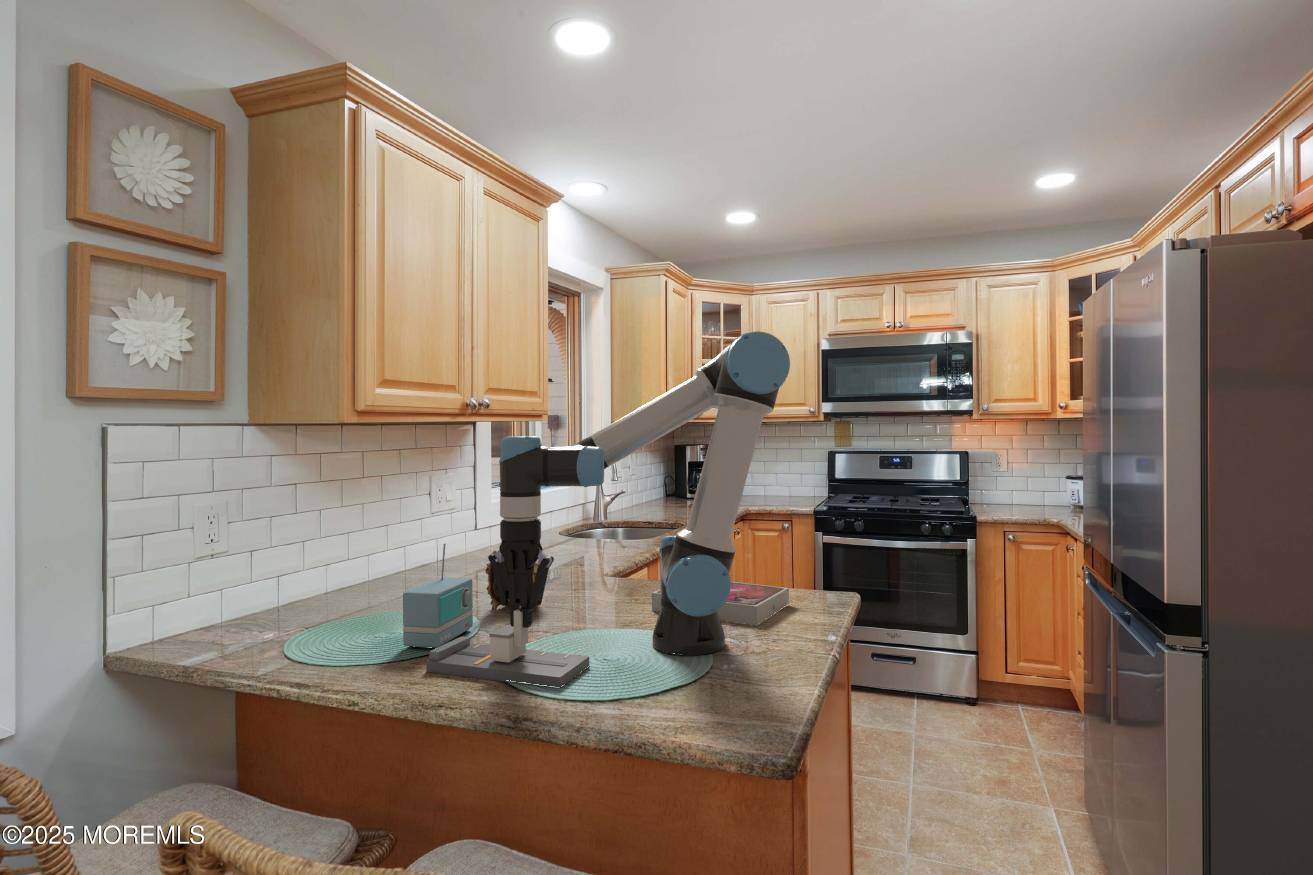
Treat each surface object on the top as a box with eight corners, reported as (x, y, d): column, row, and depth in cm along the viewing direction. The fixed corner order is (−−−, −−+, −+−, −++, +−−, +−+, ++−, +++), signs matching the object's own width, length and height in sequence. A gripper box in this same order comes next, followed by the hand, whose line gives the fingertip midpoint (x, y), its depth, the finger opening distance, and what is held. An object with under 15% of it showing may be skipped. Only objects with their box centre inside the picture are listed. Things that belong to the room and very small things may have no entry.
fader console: (589, 666, 131) (589, 648, 131) (560, 688, 120) (559, 668, 120) (464, 652, 140) (464, 635, 140) (426, 671, 129) (426, 652, 129)
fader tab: (526, 652, 132) (526, 626, 132) (509, 662, 126) (509, 635, 126) (507, 650, 134) (507, 624, 134) (489, 660, 128) (489, 633, 128)
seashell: (477, 540, 169) (530, 553, 164) (516, 534, 186) (565, 545, 180) (466, 612, 169) (519, 627, 164) (506, 599, 186) (554, 612, 181)
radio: (442, 652, 141) (441, 554, 141) (402, 649, 142) (401, 553, 142) (477, 630, 156) (476, 542, 156) (441, 628, 158) (440, 541, 158)
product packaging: (756, 628, 158) (756, 606, 158) (651, 612, 173) (651, 592, 173) (788, 607, 177) (788, 588, 177) (691, 595, 191) (691, 577, 191)
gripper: (561, 517, 130) (561, 641, 130) (501, 514, 135) (501, 635, 135) (541, 522, 123) (542, 653, 123) (479, 519, 127) (479, 646, 127)
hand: (521, 643), depth 129 cm, fingers closed
